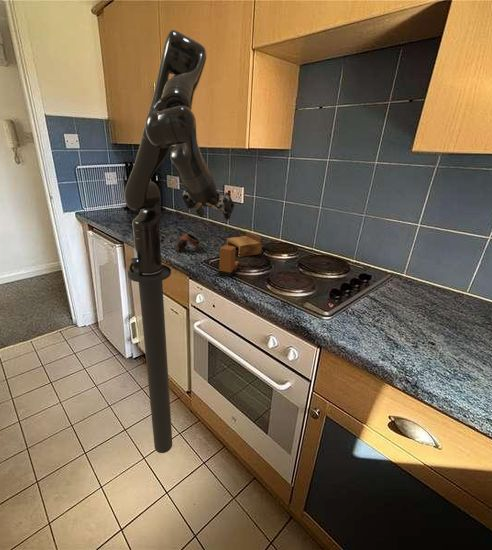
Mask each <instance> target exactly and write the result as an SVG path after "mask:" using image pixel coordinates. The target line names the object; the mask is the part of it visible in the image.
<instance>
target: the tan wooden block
mask: <svg viewBox="0 0 492 550" xmlns="http://www.w3.org/2000/svg"><path fill="white" fill-rule="evenodd" d="M226 245H227V246H234V247H236V249H238V257H239V258H242V257H248V256H254V255H261V254H262V250H263V249H262V248H263V238H262V237H261V236H258V235H257V234H254V233H252V232H250V231H245V235H243V236H235V237H227V238H226ZM247 253H249V254H247ZM239 254H242V255H239Z"/></svg>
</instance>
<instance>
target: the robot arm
mask: <svg viewBox="0 0 492 550" xmlns="http://www.w3.org/2000/svg"><path fill="white" fill-rule="evenodd" d="M206 61H207V50H206V48H205V46H204V45H202V44H201V43H200V42H198V41H196V40H194V39H193V38H191V37H190V36H187V35H185V34H184V33H182V32H180V31H178V30H176V29H171V30H170V31H169V32H168V33H167V35H166V38H165V41H164V43H163V48H162V52H161V56H160V63H159V67H158V71H157V77H156V81H155V86H154V91H153V94H152V99H151V102H150V106H149V109H148V112H147V115H146V118H145V122H144V127H143V130H142V133H141V138H140V143H139V147H138V150H137V153H136V157H135V161H134V164H133V167H132V170H131V172H130V174H129V177H128V180H127V182H126V184H125V188H124V194H123V195H124V196H123V197H124V201H125V204H126V206H127V207H128V208H129V210H132V211H139V213H138V214H137V216H136V217H134V219H133V220H132V222H131V223H132V233H133V244H134V246H133V257H131V258H130V264H129V267H128V268H129V270H130V271H131V272H132V273H134V270H133V269H132V268H134V269H136V272H137V273H138V275H139V276H154V275H157V274H160V273H161V272H162V265H163V264H162V251H161V250H162V249H161V234H160V233H161V232H160V222H161V218H162V202H161V201H162V199H161V191H160V188H159V187H158V185H157V184H156V183H155V182H154V181H152V177H153V175H154V174H155V172H156V171H157V170H158V168H159V167H160V166H161V165H162V163H164V161H165V160H166V158H167V157H168V155H169V156H170V161H171V163H172V165H173V167H174V169H175V171H176V172H177V174H178V176H179V179H180V181H181V184H182V185H183V187H184V191H183V193H182V196H181V199H182V201H183V202H184V204H185V206H186V208H187V209H188V210H191V209H192V210H194V211H195V212H196V214H197V215H198V216H199V218H204V215H205V209H204V208H211V209H214V210H215V211H217V212H218V211H220V212H221V213H222V215H223V217H224V219H225V221H229V220H230V219H231V215H232V213H233V211H234V209H235V203H234V201H233V199H232V197H231V194H230V193H229V192H225V193H224V194H220V193H219V192H218V191H217V185H216V183H215V180H214V177H213V176H212V173H211V171H210V169H209V167H208V165H207V163H206V162H205V160H204V158H203V155H202V153H201V150H200V147H199V141H198V134H197V133H198V132H197V120H196V117H195V114H194V112H193V111H192V109H193V103H194V97H195V94H196V91H197V90H198V87H199V85H200V81H201V79H202V75H203V73H204V70H205V66H206ZM170 75H172V76H171V77H170ZM203 207H204V208H203ZM161 264H162V265H161Z"/></svg>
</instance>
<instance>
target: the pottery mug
mask: <svg viewBox="0 0 492 550" xmlns="http://www.w3.org/2000/svg"><path fill="white" fill-rule="evenodd" d="M188 243H190V244H191V245H193V246H195V249H194V251H195V252H197V251H198V250H199V248H200V243H201V242H200V240H199V238H197V237H195V235H193V234H191V233H184V235H181V236H180V237H179V239H178V241H177V243H176V247H175V248H176V251H177V252H184V251H185V249H186V247H187V245H188Z"/></svg>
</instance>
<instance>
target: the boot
mask: <svg viewBox="0 0 492 550" xmlns="http://www.w3.org/2000/svg"><path fill="white" fill-rule="evenodd" d="M236 249H237V248H236V247H234V246H227V244H223V246H221V247H220V248H219V270H218V275H219V276H224V277H229V278H231V277H232V276H233V275H234V274H235V273H236V272H237V271H238V270H239V269H240V267H239V268H237V269H236V270H235V268H236V266H237V265H238V264H239V265H240V261H239V260H236V255H237V254H236Z"/></svg>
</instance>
